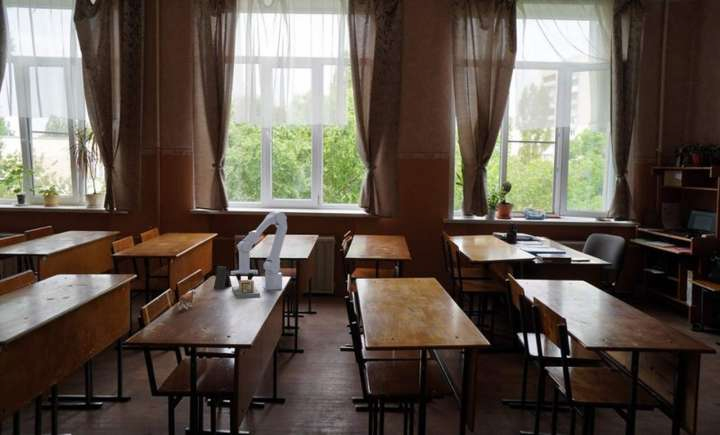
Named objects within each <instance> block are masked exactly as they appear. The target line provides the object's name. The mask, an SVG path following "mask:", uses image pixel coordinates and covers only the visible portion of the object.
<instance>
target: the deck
mask: <svg viewBox="0 0 720 435" xmlns="http://www.w3.org/2000/svg"><path fill="white" fill-rule="evenodd" d="M231 290H232V292H233V294H234V296H235V297H236V298H237V299H245V298H246V299H247V298H249V299H250V298H260V297H261V292H260V291H259V290H258V289H257V288H256V286H254V291H250V292H243V291H239V285H237V286H231Z"/></svg>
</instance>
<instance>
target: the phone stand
mask: <svg viewBox="0 0 720 435" xmlns="http://www.w3.org/2000/svg"><path fill="white" fill-rule="evenodd" d="M229 270H230V269H229V267H228V266H223V265H219V266H218V265H217V267H216V274H215V275H216V276H215V279H214V283H213V284H214V285H213V289H218V290H224V289H228V288H232V287H233V286H232V285H233V284H232V280H231V276H230V272H229Z"/></svg>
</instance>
